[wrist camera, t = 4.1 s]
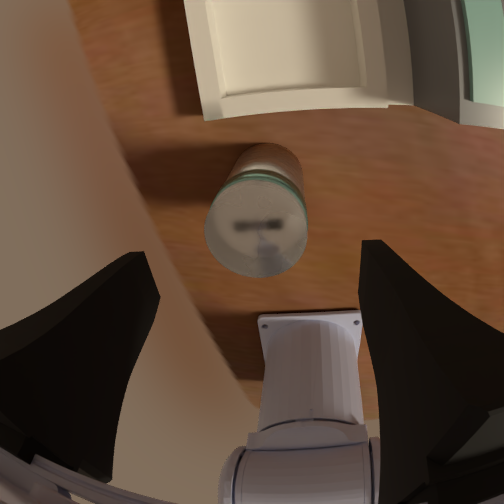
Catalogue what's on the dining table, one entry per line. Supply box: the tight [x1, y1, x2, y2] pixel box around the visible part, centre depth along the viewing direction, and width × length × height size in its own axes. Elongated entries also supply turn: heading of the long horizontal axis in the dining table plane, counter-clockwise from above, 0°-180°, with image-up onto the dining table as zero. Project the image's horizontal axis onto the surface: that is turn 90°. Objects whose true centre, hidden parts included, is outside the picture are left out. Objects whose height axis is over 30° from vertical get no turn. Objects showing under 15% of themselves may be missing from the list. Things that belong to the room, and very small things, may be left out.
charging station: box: [184, 0, 504, 129], centre depth 10 cm, size 9×14×6 cm, turn 98°
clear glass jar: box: [204, 143, 308, 278], centre depth 15 cm, size 4×4×7 cm
